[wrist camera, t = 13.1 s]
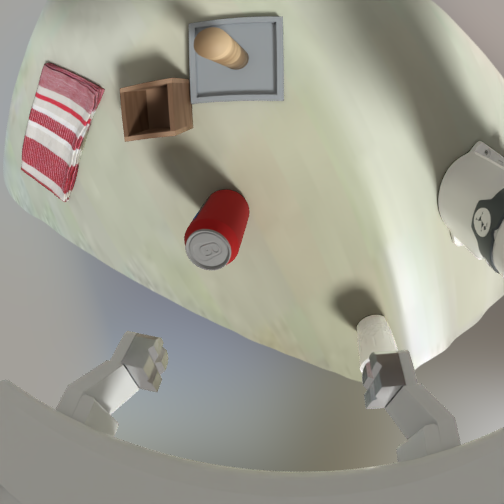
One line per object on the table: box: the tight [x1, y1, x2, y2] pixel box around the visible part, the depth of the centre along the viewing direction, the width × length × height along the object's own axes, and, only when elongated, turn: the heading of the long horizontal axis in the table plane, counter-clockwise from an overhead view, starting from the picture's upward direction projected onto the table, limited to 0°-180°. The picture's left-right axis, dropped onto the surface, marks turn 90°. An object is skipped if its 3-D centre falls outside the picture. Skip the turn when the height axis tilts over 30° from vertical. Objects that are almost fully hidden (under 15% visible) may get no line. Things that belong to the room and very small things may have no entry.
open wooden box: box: [120, 78, 193, 142], centre depth 30 cm, size 7×7×7 cm
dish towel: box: [21, 63, 104, 202], centre depth 35 cm, size 17×23×3 cm
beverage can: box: [184, 190, 249, 270], centre depth 36 cm, size 7×7×12 cm
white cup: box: [357, 315, 398, 373], centre depth 47 cm, size 8×8×10 cm
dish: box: [189, 17, 284, 104], centre depth 28 cm, size 12×12×1 cm
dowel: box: [194, 27, 249, 70], centre depth 23 cm, size 3×3×12 cm
